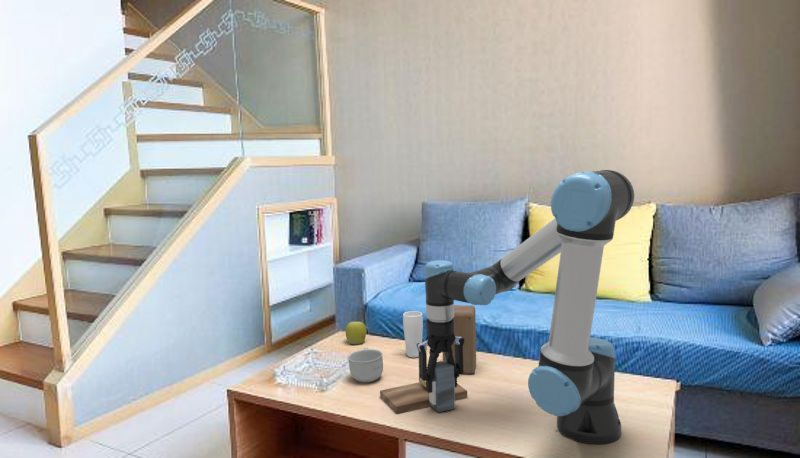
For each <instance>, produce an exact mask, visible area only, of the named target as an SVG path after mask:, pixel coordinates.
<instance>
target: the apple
mask: <svg viewBox="0 0 800 458" xmlns="http://www.w3.org/2000/svg"><path fill="white" fill-rule="evenodd" d="M352 320H353V321H349V323H347V325H346V327H345V336H346V340H347V342H348V343H349V344H350V345H359V344H363V343H364V342H365V340H366V338H367V337H366V336H367V326H366V325H365V323H364V322H363V321H356V320H355V319H354V318H353V317H352Z"/></svg>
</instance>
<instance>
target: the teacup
mask: <svg viewBox="0 0 800 458" xmlns="http://www.w3.org/2000/svg"><path fill="white" fill-rule="evenodd" d="M347 360H348V366H349V372H350V376H351V377H352V378H353V379H354V380H355V381H357V382H359V383H365V384H366V383H367V384H368V383H372V382H374V381H376V380H378V379H379V377H380V376H382V374H383V371H384V361H383V360H384V358H383V352H382V351H381V350H379V349H373V348H372V349H371V348H369V347H364V348H363V349H359V350H356V351H354V352H352V353H350V354H349V355H348V356H347Z"/></svg>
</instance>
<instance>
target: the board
mask: <svg viewBox="0 0 800 458" xmlns="http://www.w3.org/2000/svg"><path fill="white" fill-rule="evenodd" d="M379 395H380V396H379V397H380V399H381V400H382V401H384V403H386V404H387V406H388V407H389V408H390V409H391V410H392V411H393V412H394V413H395V414H397V415H399V414H402V413H407V412H411V411H415V410H419V409H424V408H428V407H432V406H431V405H430V401H429V392H427V390H426V387H425V386H424V385H423V384H421V383H420V382H419V381H418V382H414V383H409V384H404V385H399V386H395V387H389V388H386V389H381V390H379ZM467 398H468V390H467V389H465V388H464V387H463V386H462V385H460V384H458V383H457V387H455V401H459V400H463V399H467Z"/></svg>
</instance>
